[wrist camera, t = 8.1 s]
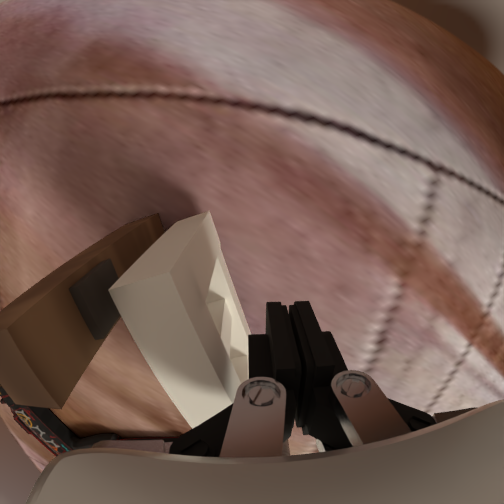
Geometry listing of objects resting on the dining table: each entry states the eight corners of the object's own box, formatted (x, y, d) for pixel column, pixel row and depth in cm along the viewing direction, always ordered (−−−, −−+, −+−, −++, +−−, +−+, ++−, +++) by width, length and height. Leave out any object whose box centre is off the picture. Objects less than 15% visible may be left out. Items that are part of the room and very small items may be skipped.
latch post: (163, 211, 16) (15, 326, 4) (176, 247, 17) (71, 409, 5) (125, 224, 17) (-30, 336, 4) (138, 259, 17) (15, 403, 5)
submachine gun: (268, 512, 27) (137, 520, 29) (266, 493, 31) (140, 505, 32) (95, 361, 17) (-19, 394, 18) (111, 334, 21) (-6, 378, 22)
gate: (209, 210, 16) (169, 271, 7) (275, 394, 20) (288, 494, 12) (176, 221, 16) (108, 289, 7) (250, 400, 20) (254, 499, 12)
